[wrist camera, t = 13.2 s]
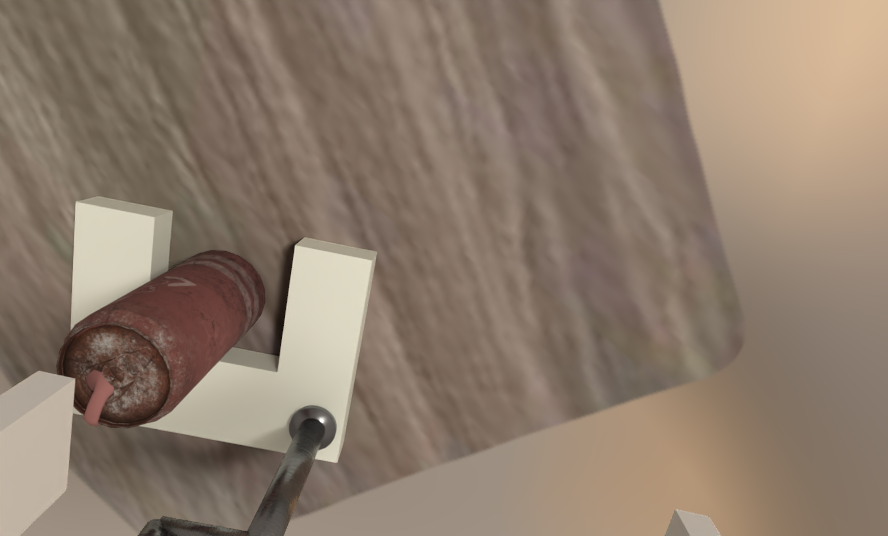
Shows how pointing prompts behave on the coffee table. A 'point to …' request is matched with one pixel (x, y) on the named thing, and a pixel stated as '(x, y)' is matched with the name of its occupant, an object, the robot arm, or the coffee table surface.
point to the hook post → (267, 529)
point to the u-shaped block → (240, 371)
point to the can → (160, 339)
